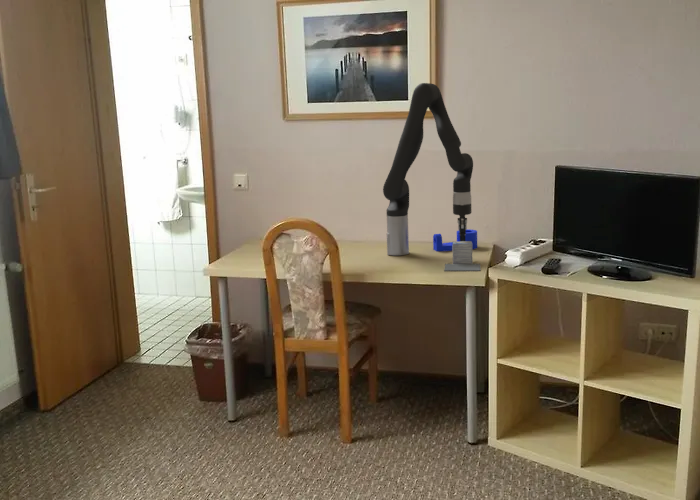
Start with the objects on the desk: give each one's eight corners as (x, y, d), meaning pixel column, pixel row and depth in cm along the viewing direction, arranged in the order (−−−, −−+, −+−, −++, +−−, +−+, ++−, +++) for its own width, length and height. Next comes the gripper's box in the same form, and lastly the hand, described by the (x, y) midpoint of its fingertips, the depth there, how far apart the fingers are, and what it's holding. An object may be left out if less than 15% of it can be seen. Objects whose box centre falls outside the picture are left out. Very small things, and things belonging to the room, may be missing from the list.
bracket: (472, 245, 326) (472, 228, 325) (480, 249, 318) (480, 232, 316) (431, 249, 322) (431, 232, 321) (438, 253, 314) (438, 235, 312)
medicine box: (471, 261, 294) (471, 240, 292) (472, 264, 290) (472, 243, 288) (452, 262, 295) (452, 241, 293) (453, 264, 290) (452, 243, 289)
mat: (444, 271, 280) (444, 270, 280) (445, 264, 290) (445, 263, 290) (480, 271, 278) (480, 270, 277) (480, 264, 288) (480, 263, 288)
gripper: (453, 200, 301) (453, 240, 305) (452, 205, 288) (453, 247, 292) (471, 199, 300) (471, 240, 303) (471, 204, 287) (472, 246, 291)
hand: (462, 243), depth 298 cm, fingers closed
